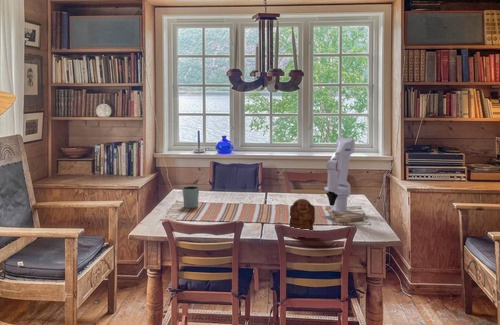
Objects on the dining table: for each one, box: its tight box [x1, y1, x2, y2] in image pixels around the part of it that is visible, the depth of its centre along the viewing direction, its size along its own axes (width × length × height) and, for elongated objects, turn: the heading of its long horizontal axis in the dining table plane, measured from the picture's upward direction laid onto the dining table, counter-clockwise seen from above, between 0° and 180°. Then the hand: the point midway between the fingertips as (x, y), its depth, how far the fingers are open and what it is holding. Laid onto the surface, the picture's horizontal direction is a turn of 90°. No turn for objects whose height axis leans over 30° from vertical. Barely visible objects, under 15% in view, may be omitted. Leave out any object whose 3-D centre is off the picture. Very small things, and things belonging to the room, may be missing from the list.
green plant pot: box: [181, 185, 200, 209], centre depth 277 cm, size 10×10×12 cm
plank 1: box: [324, 206, 342, 216], centre depth 255 cm, size 7×8×2 cm
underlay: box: [321, 214, 365, 224], centre depth 253 cm, size 16×18×1 cm
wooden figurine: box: [288, 198, 316, 231], centre depth 220 cm, size 12×6×18 cm, turn 103°
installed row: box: [338, 210, 364, 222], centre depth 255 cm, size 15×8×2 cm, turn 22°
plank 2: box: [331, 215, 352, 224], centre depth 248 cm, size 7×8×2 cm
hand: (331, 205), depth 254 cm, fingers closed
